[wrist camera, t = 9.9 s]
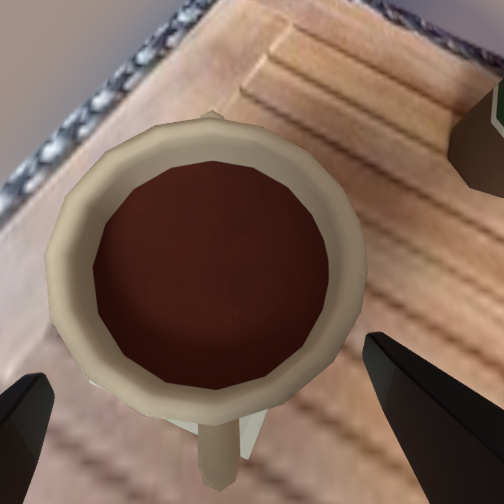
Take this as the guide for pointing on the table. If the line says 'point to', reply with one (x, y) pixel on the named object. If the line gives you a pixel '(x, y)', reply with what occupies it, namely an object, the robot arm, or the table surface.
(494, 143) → the beer bottle
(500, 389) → the table surface
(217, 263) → the character mug
